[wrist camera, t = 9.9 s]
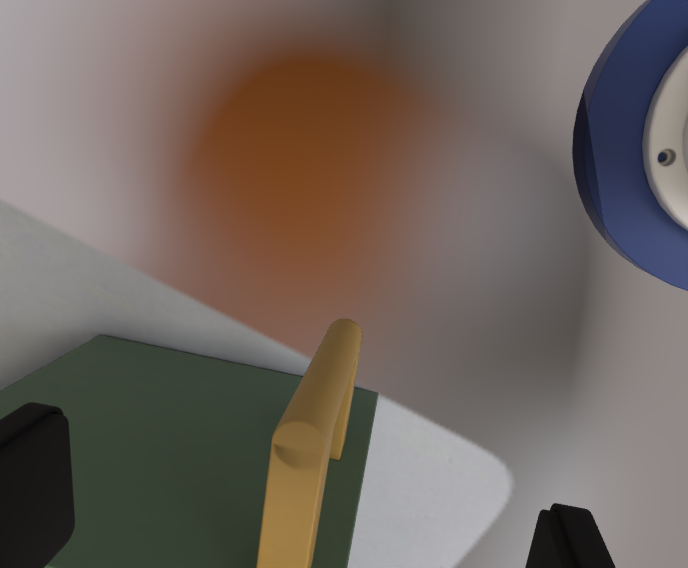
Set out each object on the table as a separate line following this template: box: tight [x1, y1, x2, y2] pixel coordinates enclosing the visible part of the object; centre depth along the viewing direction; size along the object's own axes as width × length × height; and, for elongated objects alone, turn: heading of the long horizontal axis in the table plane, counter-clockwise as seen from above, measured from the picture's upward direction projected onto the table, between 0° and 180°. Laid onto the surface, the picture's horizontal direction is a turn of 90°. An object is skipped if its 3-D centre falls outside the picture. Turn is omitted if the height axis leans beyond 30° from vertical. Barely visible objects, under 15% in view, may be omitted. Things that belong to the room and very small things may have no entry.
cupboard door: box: [0, 319, 378, 568], centre depth 22 cm, size 7×18×16 cm, turn 82°
